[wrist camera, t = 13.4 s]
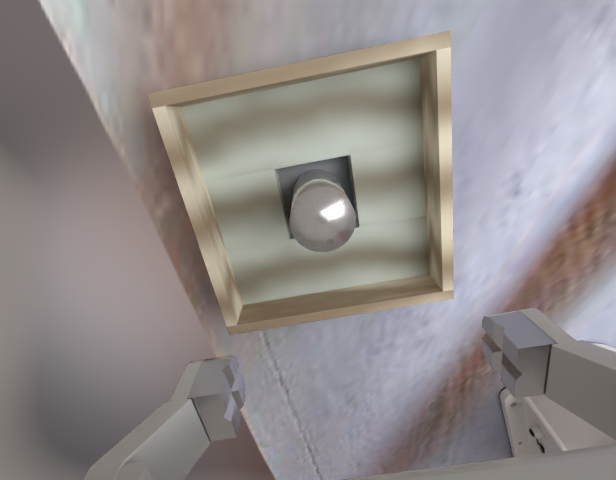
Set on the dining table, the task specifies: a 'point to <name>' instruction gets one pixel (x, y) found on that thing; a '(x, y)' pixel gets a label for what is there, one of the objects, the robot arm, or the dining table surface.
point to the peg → (321, 212)
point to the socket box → (309, 148)
